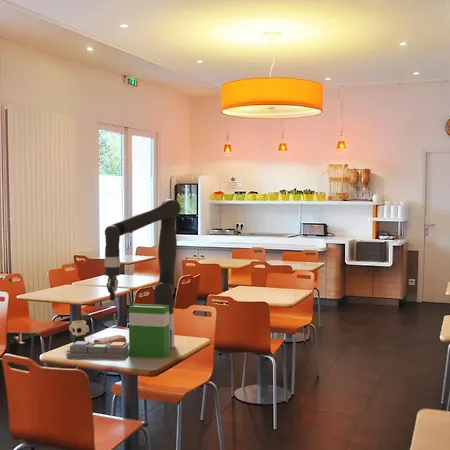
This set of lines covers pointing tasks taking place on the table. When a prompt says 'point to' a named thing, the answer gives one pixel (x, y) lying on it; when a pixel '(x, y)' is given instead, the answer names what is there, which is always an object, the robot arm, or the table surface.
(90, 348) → the button panel
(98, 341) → the packaged product
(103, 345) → the sage button
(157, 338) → the green cereal box
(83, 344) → the slate button
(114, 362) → the table surface
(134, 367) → the table surface
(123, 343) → the terracotta button
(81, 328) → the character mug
